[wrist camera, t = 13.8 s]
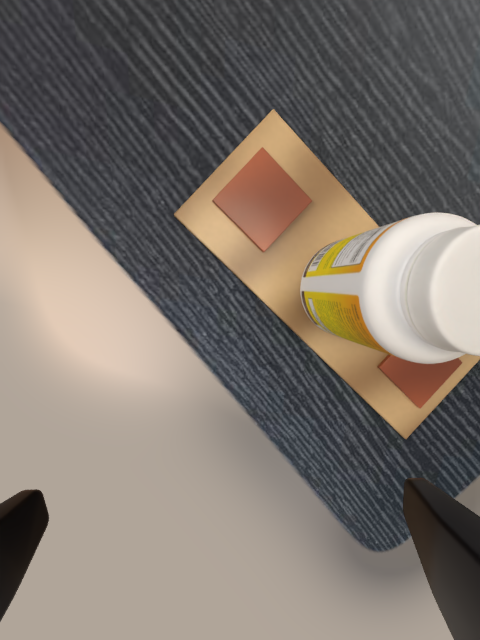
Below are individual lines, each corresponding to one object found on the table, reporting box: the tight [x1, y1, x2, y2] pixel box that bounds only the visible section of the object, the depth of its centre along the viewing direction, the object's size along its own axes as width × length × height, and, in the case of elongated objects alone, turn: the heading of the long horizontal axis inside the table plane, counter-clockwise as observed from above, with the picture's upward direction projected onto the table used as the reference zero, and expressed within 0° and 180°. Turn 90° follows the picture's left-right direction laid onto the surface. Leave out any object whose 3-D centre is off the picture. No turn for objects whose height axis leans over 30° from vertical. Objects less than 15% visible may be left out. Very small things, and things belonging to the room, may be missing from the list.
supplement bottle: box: [300, 213, 480, 364], centre depth 15 cm, size 6×6×10 cm
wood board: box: [174, 109, 480, 439], centre depth 20 cm, size 20×8×1 cm, turn 46°
